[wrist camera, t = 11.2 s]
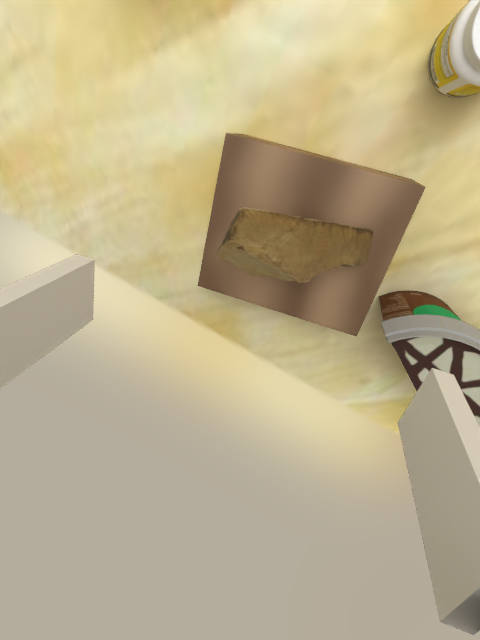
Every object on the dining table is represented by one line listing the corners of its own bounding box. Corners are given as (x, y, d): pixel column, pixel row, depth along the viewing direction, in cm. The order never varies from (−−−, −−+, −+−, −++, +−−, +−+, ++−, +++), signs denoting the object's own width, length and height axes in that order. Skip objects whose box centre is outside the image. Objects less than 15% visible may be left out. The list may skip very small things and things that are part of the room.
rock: (423, 211, 22) (287, 119, 21) (391, 327, 19) (227, 230, 17) (328, 276, 32) (232, 218, 31) (296, 360, 29) (186, 300, 27)
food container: (493, 366, 33) (548, 447, 24) (424, 386, 36) (452, 466, 27) (444, 250, 30) (487, 297, 21) (371, 282, 32) (384, 335, 24)
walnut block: (215, 267, 35) (197, 285, 31) (242, 134, 30) (225, 133, 25) (354, 311, 34) (356, 336, 30) (411, 179, 28) (425, 187, 24)
